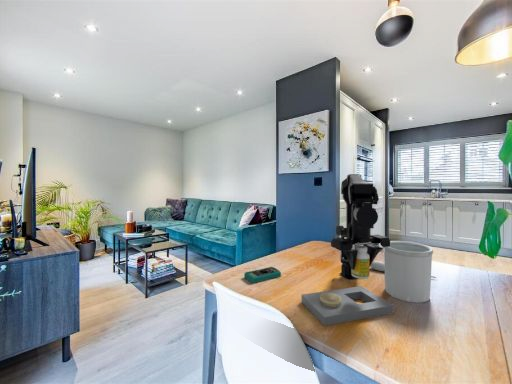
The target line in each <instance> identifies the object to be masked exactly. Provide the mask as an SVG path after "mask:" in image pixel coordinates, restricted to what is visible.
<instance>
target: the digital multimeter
mask: <svg viewBox="0 0 512 384" xmlns="http://www.w3.org/2000/svg"><path fill="white" fill-rule="evenodd" d="M243 276H244V278H245V280H247V281H248V282H250V283H251V284H256V283H260V282H262V281H267V280H271V279H276V278H280V277H282V272H281V270H279V269H277V268H276V267H273V266H269V267H265V268H261V269H260V268H259V269H255V270H249V271H246V272H244V275H243Z"/></svg>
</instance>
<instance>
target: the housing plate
mask: <svg viewBox="0 0 512 384" xmlns="http://www.w3.org/2000/svg"><path fill="white" fill-rule="evenodd" d="M358 299H359V300H360V299H361V300H363V301H365V302H363V303H358V302H356V301H354V300H358ZM301 303H302V304H303V305H304V306H305V307H306V309H308V310H309V312H310V313H311V314H312V315H313V316H314V317H315V318H316V319H317V320H318V321H319V322H320V323H321V324H322V325H323V327H326V326H333V325H338V324H343V323H348V322H352V321H358V320H364V319H369V318H374V317H379V316H384V315H390V314H393V313H394V304H392V303H391V302H389V301H387V300H386V299H384V298H382V297H381V296H379V295H378V294H376V293H375V292H373V291H370V290H369V289H367V288H366V287H364V286H362V285H358V286H352V287H351V286H350V287H344V288H338V289H330V290H325V291H318V292H311V293H310V292H309V293H302V294H301Z"/></svg>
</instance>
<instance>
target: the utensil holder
mask: <svg viewBox="0 0 512 384" xmlns="http://www.w3.org/2000/svg"><path fill="white" fill-rule="evenodd" d="M383 248H384V253H383V254H384V263H385V271H384V290H385V292H386V293H387V294H388V295H389V296H391V297H393V298H395V299H397V300H401V301H404V302H409V303H415V304H416V303H417V304H419V303H420V304H421V303H425V302H428V301H429V300H430V299H431V285H432V277H431V276H432V260H433V254H434V249H433V247H431V246H430V245H426V244H424V243H419V242H414V241H407V240H406V241H405V240H390V247H383Z"/></svg>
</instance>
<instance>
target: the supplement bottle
mask: <svg viewBox="0 0 512 384" xmlns="http://www.w3.org/2000/svg"><path fill="white" fill-rule="evenodd" d="M355 250H357V251H358V253H357V259H356V265H355V269H354V270H353V269H351V274H352V276H353V277H355V278H358V279H361V280H366V279H367V280H368V279H369V277H370V267H369V264H370V256H369V254H368V253H366V252H367V247H366V246H363V245H357V246H355Z"/></svg>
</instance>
